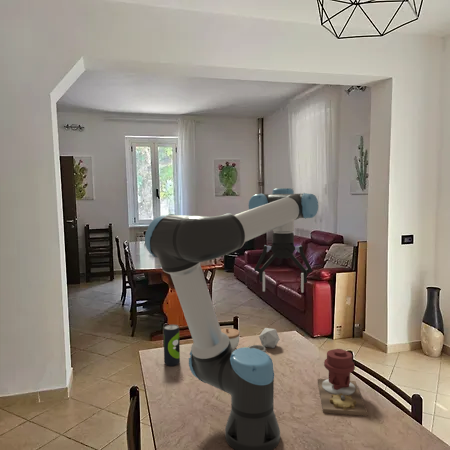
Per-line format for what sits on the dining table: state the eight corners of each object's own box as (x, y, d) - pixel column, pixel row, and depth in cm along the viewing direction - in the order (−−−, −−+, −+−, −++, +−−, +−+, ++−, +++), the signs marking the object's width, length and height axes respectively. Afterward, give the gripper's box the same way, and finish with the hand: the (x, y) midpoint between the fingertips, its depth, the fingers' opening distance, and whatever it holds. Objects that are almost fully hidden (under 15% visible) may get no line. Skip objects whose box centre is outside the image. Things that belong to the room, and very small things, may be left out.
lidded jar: (212, 346, 172) (211, 326, 171) (234, 343, 175) (234, 323, 175) (220, 356, 162) (219, 334, 161) (243, 352, 165) (243, 330, 165)
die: (258, 344, 176) (254, 332, 170) (272, 332, 179) (268, 320, 173) (269, 355, 170) (266, 343, 164) (284, 343, 173) (281, 331, 167)
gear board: (367, 416, 117) (367, 405, 116) (323, 412, 119) (323, 402, 118) (355, 384, 136) (355, 375, 136) (317, 381, 138) (317, 372, 138)
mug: (268, 366, 152) (268, 349, 151) (254, 369, 149) (254, 352, 148) (255, 356, 161) (255, 341, 160) (241, 360, 158) (241, 344, 157)
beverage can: (164, 360, 157) (163, 324, 156) (179, 359, 159) (178, 323, 157) (164, 367, 151) (163, 330, 150) (180, 365, 152) (179, 328, 151)
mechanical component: (321, 378, 137) (350, 379, 136) (326, 392, 127) (357, 393, 126) (322, 344, 136) (351, 345, 135) (327, 356, 126) (358, 357, 125)
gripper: (318, 231, 138) (317, 289, 140) (248, 231, 142) (249, 287, 144) (320, 233, 131) (319, 294, 132) (246, 232, 135) (247, 292, 136)
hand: (282, 291), depth 138 cm, fingers open, 13 cm apart
